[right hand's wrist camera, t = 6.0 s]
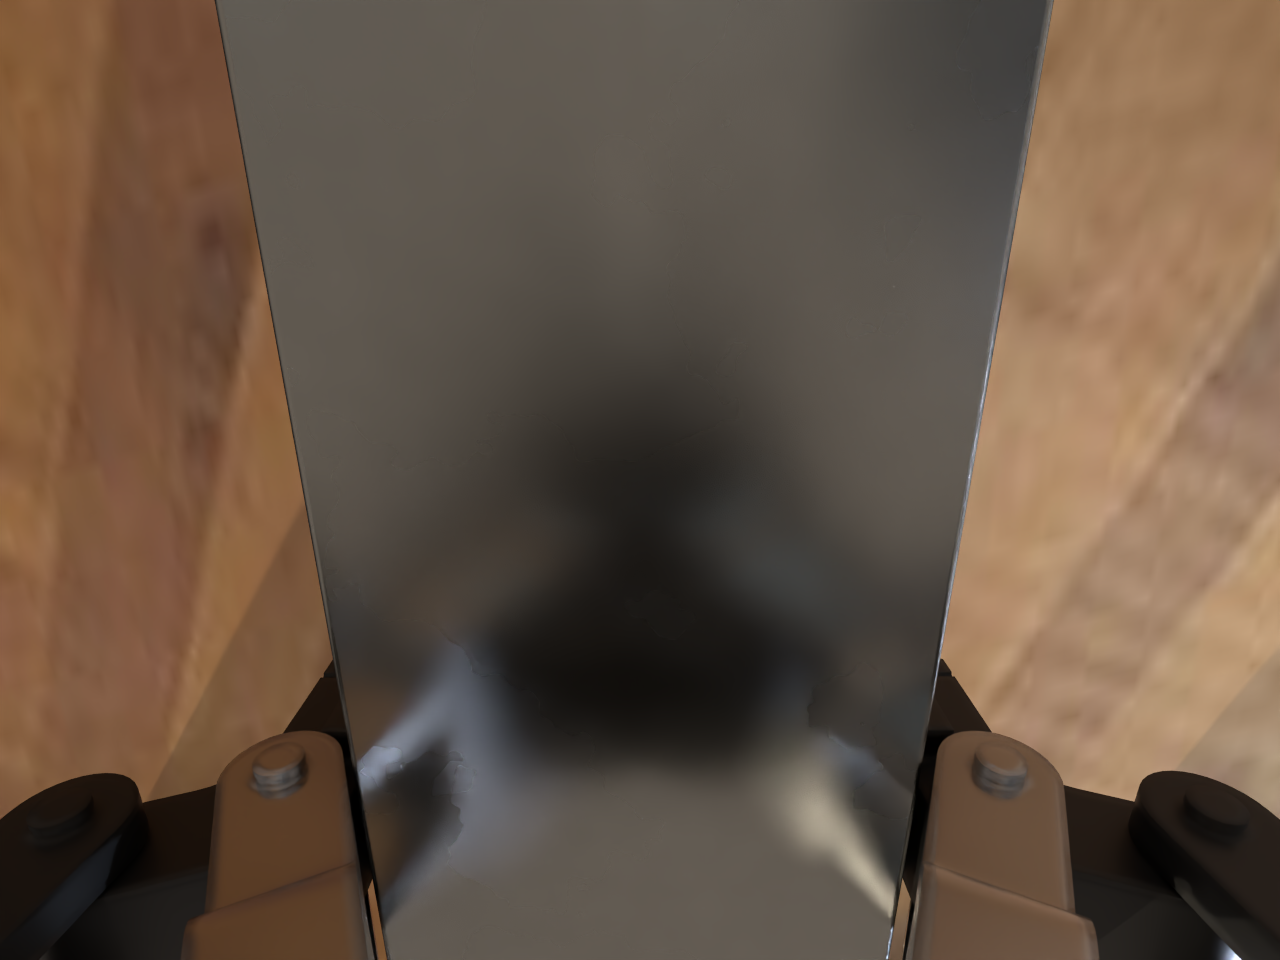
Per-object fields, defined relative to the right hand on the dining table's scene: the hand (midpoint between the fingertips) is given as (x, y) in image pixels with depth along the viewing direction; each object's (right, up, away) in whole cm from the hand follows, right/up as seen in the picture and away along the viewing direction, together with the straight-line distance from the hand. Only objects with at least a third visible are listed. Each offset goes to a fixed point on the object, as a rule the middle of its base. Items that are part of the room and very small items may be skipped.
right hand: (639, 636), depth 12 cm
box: (0, +10, +2) cm, 10 cm away
